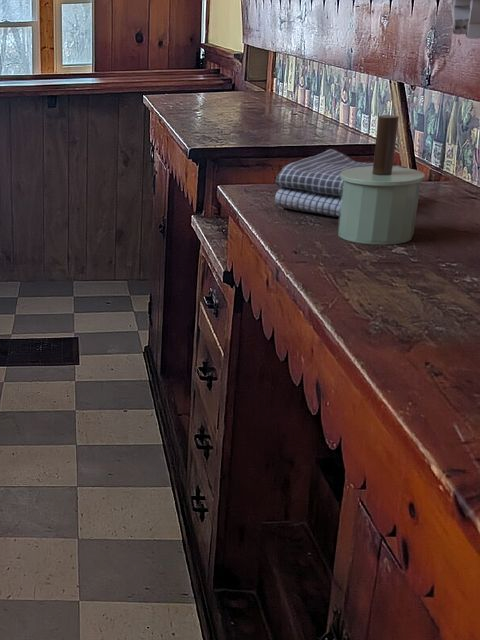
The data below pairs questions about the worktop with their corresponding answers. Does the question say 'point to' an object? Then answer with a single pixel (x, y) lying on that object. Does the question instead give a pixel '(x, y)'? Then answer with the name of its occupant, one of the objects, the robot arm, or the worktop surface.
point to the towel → (315, 183)
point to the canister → (378, 213)
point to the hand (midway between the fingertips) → (466, 36)
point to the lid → (383, 161)
